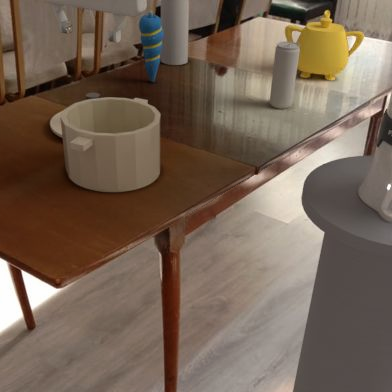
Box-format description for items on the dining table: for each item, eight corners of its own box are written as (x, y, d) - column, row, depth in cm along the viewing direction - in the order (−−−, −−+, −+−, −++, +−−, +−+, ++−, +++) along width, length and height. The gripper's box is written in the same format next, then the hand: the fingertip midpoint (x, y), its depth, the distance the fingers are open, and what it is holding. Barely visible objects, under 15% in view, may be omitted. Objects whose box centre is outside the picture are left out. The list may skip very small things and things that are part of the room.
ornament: (155, 87, 137) (154, 12, 128) (135, 83, 139) (133, 8, 129) (167, 81, 141) (168, 7, 131) (148, 76, 143) (147, 3, 133)
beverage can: (265, 106, 132) (272, 45, 124) (273, 99, 135) (280, 39, 127) (287, 111, 130) (295, 49, 122) (295, 103, 133) (303, 43, 125)
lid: (154, 121, 124) (153, 89, 119) (111, 153, 112) (110, 119, 108) (80, 105, 128) (78, 74, 124) (32, 134, 117) (28, 101, 112)
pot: (181, 156, 112) (183, 102, 106) (125, 208, 97) (122, 150, 91) (104, 138, 117) (101, 86, 110) (39, 185, 102) (31, 129, 96)
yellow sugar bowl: (361, 76, 148) (372, 21, 140) (318, 87, 142) (327, 30, 134) (319, 59, 156) (328, 7, 149) (277, 69, 150) (283, 14, 142)
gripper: (153, -54, 97) (153, 42, 106) (40, -69, 102) (49, 23, 111) (134, -48, 92) (136, 52, 102) (17, -64, 98) (29, 32, 107)
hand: (90, 37), depth 107 cm, fingers open, 8 cm apart
